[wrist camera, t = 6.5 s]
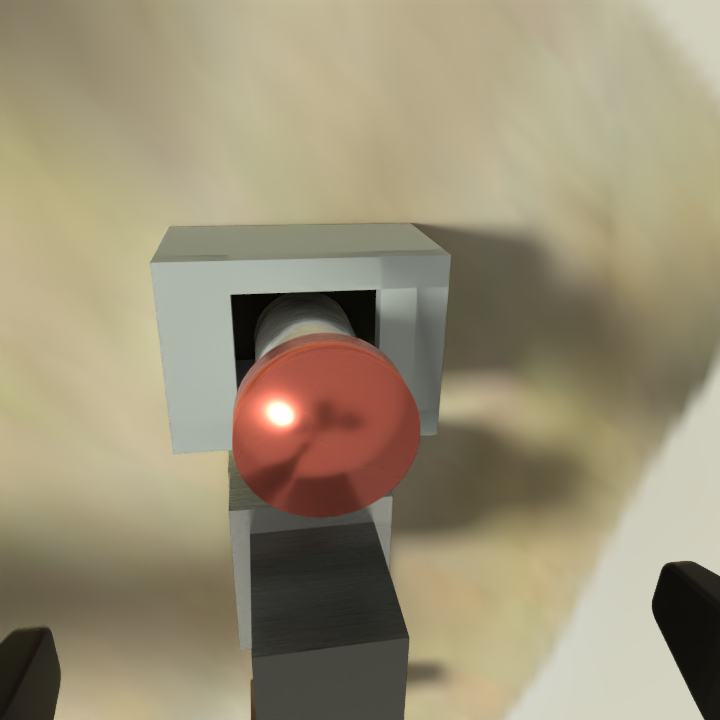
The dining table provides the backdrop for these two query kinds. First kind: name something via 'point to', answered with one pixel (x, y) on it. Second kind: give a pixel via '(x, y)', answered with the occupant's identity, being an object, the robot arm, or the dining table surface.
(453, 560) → the dining table surface
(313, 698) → the carriage
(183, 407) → the button housing
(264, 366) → the red plunger button
